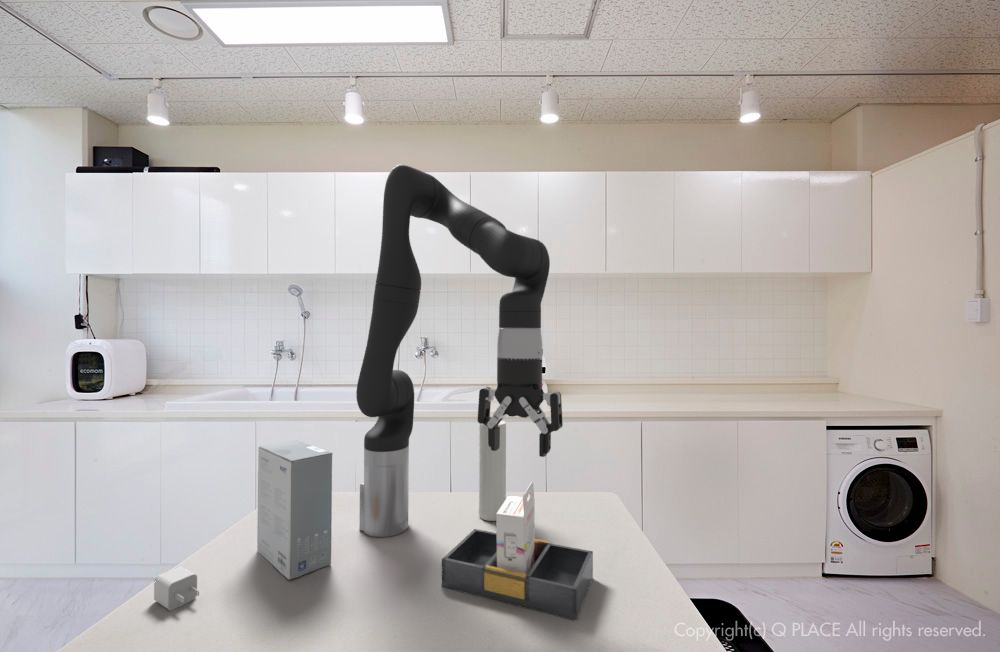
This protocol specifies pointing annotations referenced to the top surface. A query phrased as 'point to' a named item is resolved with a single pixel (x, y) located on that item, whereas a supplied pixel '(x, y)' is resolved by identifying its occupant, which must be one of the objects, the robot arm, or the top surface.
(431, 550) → the top surface
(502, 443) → the paper towel roll
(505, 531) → the ink cartridge box
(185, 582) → the usb wall charger
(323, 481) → the hard drive box
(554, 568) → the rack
